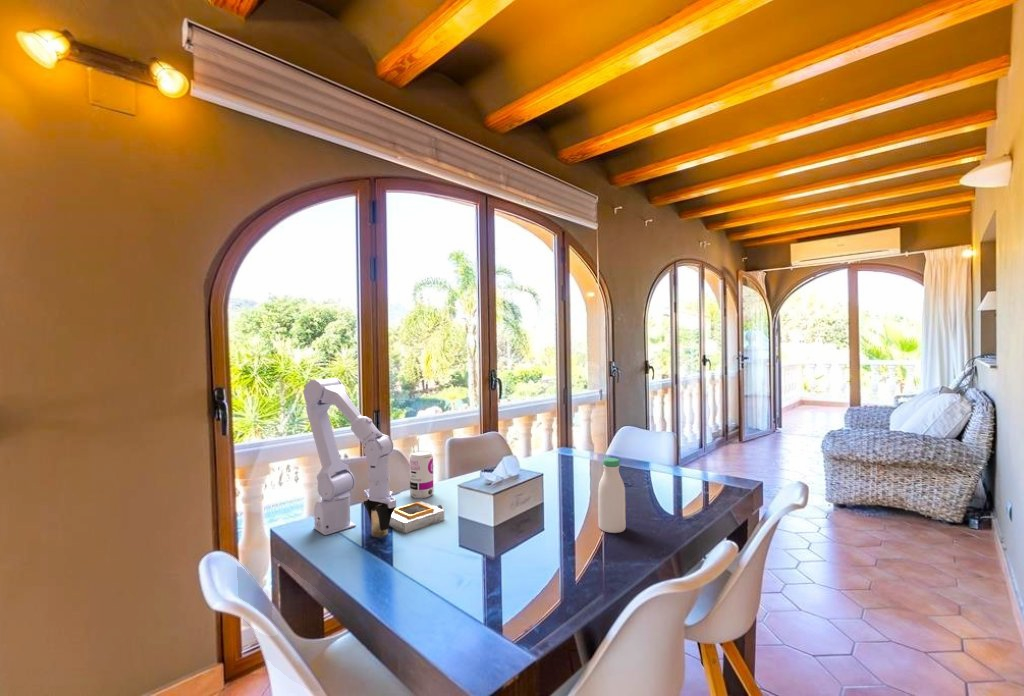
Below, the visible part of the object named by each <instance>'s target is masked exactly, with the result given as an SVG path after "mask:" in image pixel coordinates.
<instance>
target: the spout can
mask: <svg viewBox="0 0 1024 696" xmlns="http://www.w3.org/2000/svg"><path fill="white" fill-rule="evenodd" d="M380 505H382V504H380ZM376 506H379V505H376ZM376 506H375V507H376ZM371 522H372V525H371V536H372V537H373V538H383V537H386V536H388V534H389V528H388V529H386V530H383V531H381V530H380V525H379V517H378V514H377V511H376V509H375V508H373V509H372V510H371ZM371 522H370V523H371Z"/></svg>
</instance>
